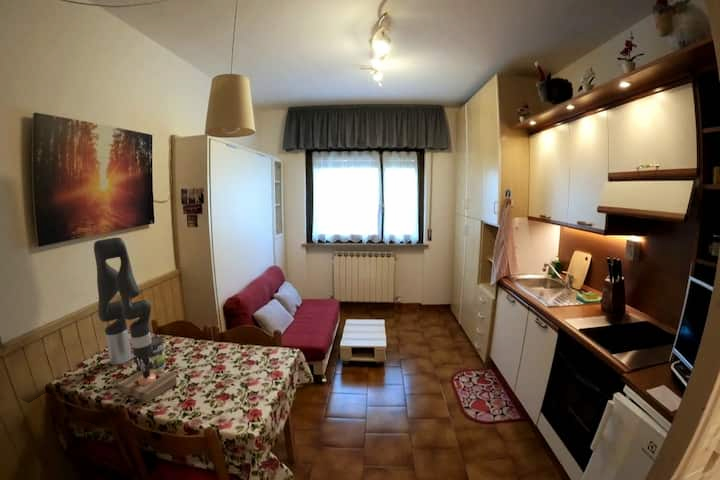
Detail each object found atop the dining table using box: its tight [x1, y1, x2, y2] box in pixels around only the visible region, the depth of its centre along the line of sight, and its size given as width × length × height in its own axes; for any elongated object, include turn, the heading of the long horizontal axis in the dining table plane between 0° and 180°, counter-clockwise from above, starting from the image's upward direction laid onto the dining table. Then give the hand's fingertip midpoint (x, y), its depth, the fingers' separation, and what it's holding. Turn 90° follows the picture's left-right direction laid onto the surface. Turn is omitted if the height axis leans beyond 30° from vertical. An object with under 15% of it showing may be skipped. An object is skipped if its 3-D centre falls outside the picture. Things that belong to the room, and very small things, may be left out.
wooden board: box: [117, 369, 177, 403], centre depth 146 cm, size 20×14×4 cm
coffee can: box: [151, 336, 167, 370], centre depth 162 cm, size 10×10×14 cm
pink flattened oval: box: [138, 374, 156, 387], centre depth 146 cm, size 7×7×4 cm
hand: (146, 376), depth 146 cm, fingers closed
